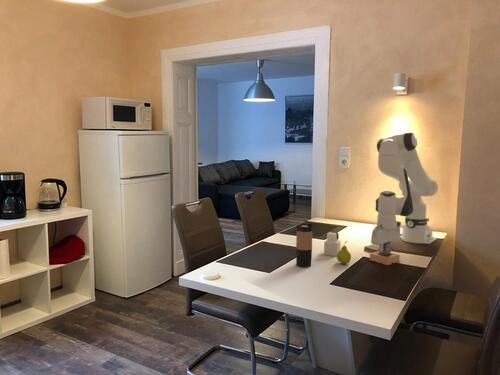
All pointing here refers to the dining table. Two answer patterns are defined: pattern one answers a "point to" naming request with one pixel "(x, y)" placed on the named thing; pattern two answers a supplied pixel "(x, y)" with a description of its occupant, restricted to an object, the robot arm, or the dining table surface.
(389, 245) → the metal peg
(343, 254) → the fruit
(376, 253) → the terracotta socket
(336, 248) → the medicine bottle
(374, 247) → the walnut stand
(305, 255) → the travel mug
